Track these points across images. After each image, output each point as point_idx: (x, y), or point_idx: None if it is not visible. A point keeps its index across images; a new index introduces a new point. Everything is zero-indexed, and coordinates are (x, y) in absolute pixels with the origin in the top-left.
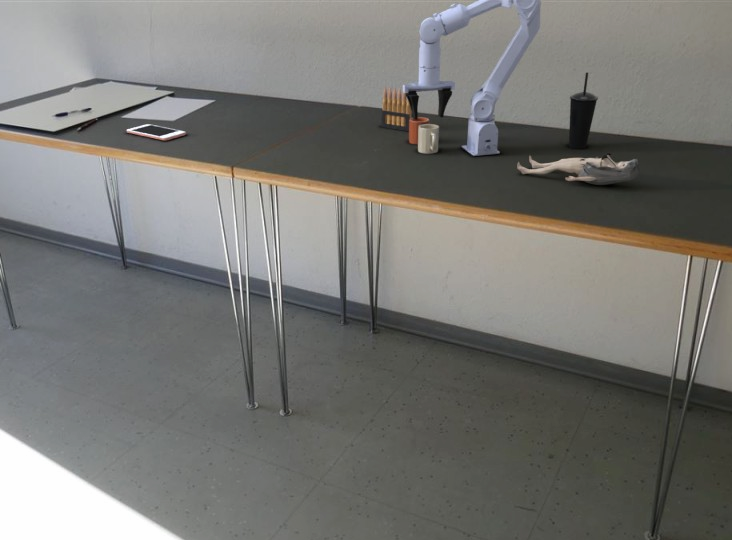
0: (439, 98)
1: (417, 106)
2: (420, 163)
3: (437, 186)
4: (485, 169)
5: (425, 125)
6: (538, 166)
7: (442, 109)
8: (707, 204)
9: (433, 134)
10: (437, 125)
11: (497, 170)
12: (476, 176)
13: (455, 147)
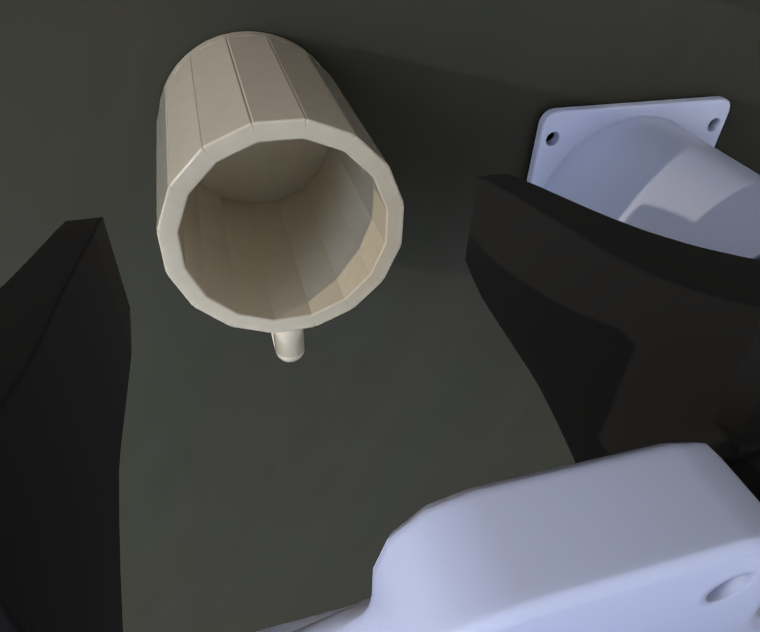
0: (623, 311)
1: (114, 492)
2: (132, 394)
3: (166, 628)
4: (440, 476)
5: (272, 138)
6: None
7: (514, 344)
8: None
9: (283, 358)
10: (398, 213)
11: (478, 484)
12: (362, 540)
13: (508, 77)
